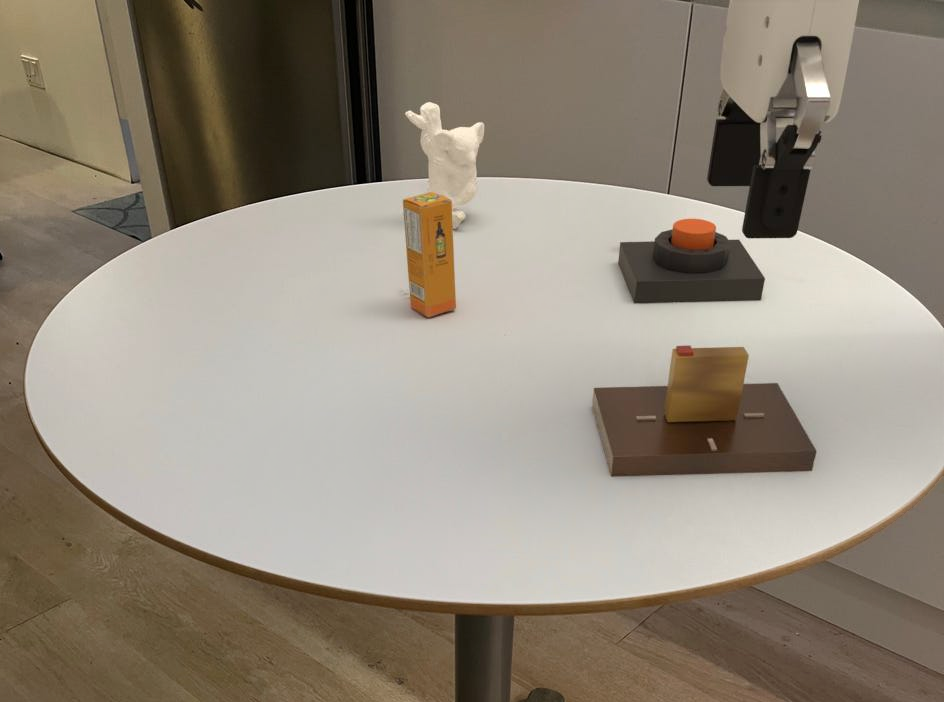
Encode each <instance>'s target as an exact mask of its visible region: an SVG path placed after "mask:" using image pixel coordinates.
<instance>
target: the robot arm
mask: <svg viewBox="0 0 944 702" xmlns="http://www.w3.org/2000/svg"><path fill="white" fill-rule="evenodd" d="M859 3H860V0H729V3H728V10H727V15H726V22H725V27H724V35H723V41H722V49H721V56H720V57H721V58H720V69H719V70H720V71H719V77H720V83H721V86H722V88H723V89H722V92H721V95H720V97H719V99H718V103H717V118H716V119H715V125H714V131H713V136H712V143H711V144H712V145H711V150H710V155H709V156H710V157H709V163H708V171H707V177H706V181H707V183H708V184H709V185H710V186H711V187H749V188H748V194H747V199H746V205H745V211H744V217H743V222H742V228H741V232H742V234H743V235H744V237H745V238H746V239H792V238H794V237H795V236H796V235H797V233H798V230H799V225H800V222H801V217H802V212H803V207H804V202H805V198H806V193H807V189H808V184H809V179H810V174H811V170H812V169H813V167H814V164H815V161H816V149H817V147H818V145H819V144H820V143H821V140H822V137H823V136H822V135H821V133H822V130H821V128H822V127H823V125H824V123H826V124H827V123H829V122H831V121H832V120H833V119H834V118H835V117H836V116H837V114H838V112H839V109H840V105H841V101H842V98H843V97H842V96H843V92H844V86H845V80H846V75H847V70H848V65H849V59H850V54H851V49H852V43H853V39H854V38H853V37H854V32H855V28H856V27H855V26H856V21H857V14H858V9H859ZM777 128H784V130H783V131H782V133H781V135H780V136H779V138H778V139H777Z"/></svg>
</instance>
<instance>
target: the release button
mask: <svg viewBox="0 0 944 702" xmlns="http://www.w3.org/2000/svg"><path fill="white" fill-rule="evenodd" d="M672 229H673V230H672V238H671V244H672V245H674V246H676V247H678V248H684V249H690V250H699V249H708V248H711V247H713V245H714V239H715V232H717V226H716V224H715V223H714V222H712V221H709V220H706V219H701V218H683V219H678V220H676V221H675V222H674V223H673V224H672Z"/></svg>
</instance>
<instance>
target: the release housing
mask: <svg viewBox="0 0 944 702" xmlns="http://www.w3.org/2000/svg"><path fill="white" fill-rule="evenodd" d="M672 230H673V228H672V229H667V230H664V231H661V232H660V233H659V234H657V236H655V238H654V241H652V240H651V241H620V242H619V248H618V249H619V251H618V263H617V264H618V267H619V269H620V271H621V274H622V276H623V279H624V282H625V284H626V286H627V289H628V291H629V294H630V297H631V299H632V302H633V304H636V305H637V304H671V303H672V304H673V303H674V302H675V303H678V302H679V303H710V302H711V303H715V302H716V303H717V302H757V301H762V297H763V292H764V286H765V282H766V278H765V276H764V274H763V273H762V271H761V270H760V268H759V267H758V265H757V264H756V263H755V261H754V259H753V258H752V256H751V255H750V253H749V252H748V250H747V249H746V247H745V246H744V244H743V243H742V242H741V240H740V239H729V238H728V237H727V236H726V235H724V234H722V233H719V232H717V231H716V232H715V239H714V245H713V247H711V248H708V249H699V250H690V249H684V248H678V247H676V246H674V245H672V244H671V238H672ZM675 303H674V304H675ZM679 303H678V304H679Z"/></svg>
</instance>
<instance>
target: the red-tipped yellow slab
mask: <svg viewBox="0 0 944 702" xmlns="http://www.w3.org/2000/svg"><path fill="white" fill-rule="evenodd" d="M749 356H750V355H749V353H748V352H747V350H746V348H745V347H744V346H724V347H723V346H722V347H721V346H719V347H692V346H691V345H676V346H675V348H672V351H671V358H670V366H669V372H668V378H667V379H668V381H667V386H668V387H667V394H666V401H665V409H664V414H665V417H666V419H667V422H697V421H735V420H737V415H738V410H739V405H740V400H741V394H742V389H743V384H745V378H746V372H747V367H748V362H749Z"/></svg>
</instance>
